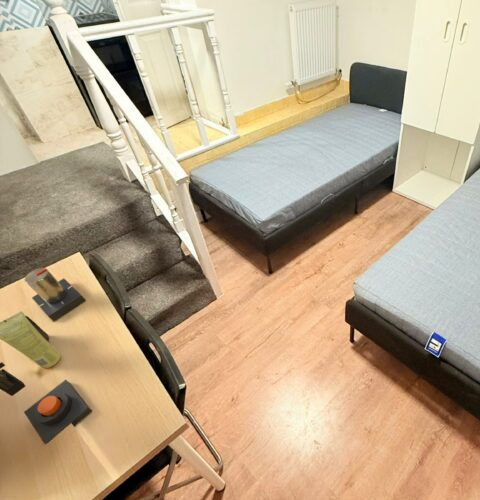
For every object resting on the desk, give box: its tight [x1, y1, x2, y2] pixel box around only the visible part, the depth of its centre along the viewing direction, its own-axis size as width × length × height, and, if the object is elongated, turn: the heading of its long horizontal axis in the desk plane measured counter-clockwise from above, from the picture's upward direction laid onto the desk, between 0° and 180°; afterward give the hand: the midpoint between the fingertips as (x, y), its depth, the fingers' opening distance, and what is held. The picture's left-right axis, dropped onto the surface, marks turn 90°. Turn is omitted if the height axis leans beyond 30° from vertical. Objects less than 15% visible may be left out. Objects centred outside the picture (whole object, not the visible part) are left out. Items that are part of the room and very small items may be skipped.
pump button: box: [37, 396, 61, 416], centre depth 80 cm, size 4×4×2 cm
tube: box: [0, 311, 61, 369], centre depth 87 cm, size 6×5×20 cm
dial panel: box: [31, 278, 86, 322], centre depth 107 cm, size 12×10×3 cm
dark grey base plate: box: [23, 379, 93, 445], centre depth 82 cm, size 12×10×4 cm
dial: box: [24, 267, 67, 304], centre depth 102 cm, size 6×6×10 cm
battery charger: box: [25, 315, 49, 343], centre depth 93 cm, size 7×4×11 cm, turn 27°
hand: (17, 389), depth 73 cm, fingers closed
